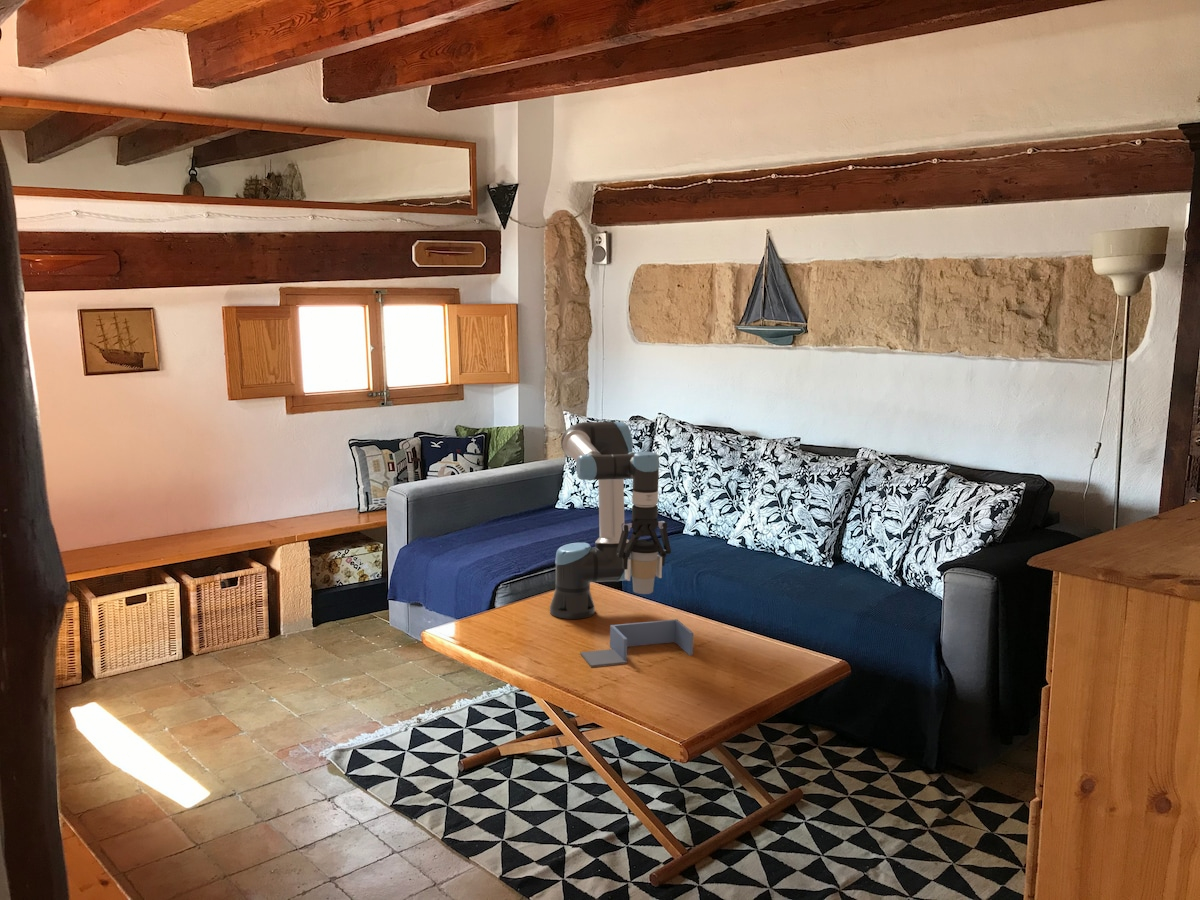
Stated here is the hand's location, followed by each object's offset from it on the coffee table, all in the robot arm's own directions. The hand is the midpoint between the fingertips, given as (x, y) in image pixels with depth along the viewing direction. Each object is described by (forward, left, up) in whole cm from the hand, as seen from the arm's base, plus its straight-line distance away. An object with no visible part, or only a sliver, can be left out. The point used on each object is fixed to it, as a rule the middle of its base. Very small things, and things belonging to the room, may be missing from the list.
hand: (643, 578), depth 296 cm
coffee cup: (0, 0, -4) cm, 4 cm away
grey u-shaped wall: (0, +3, -23) cm, 24 cm away
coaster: (+2, -13, -23) cm, 27 cm away
